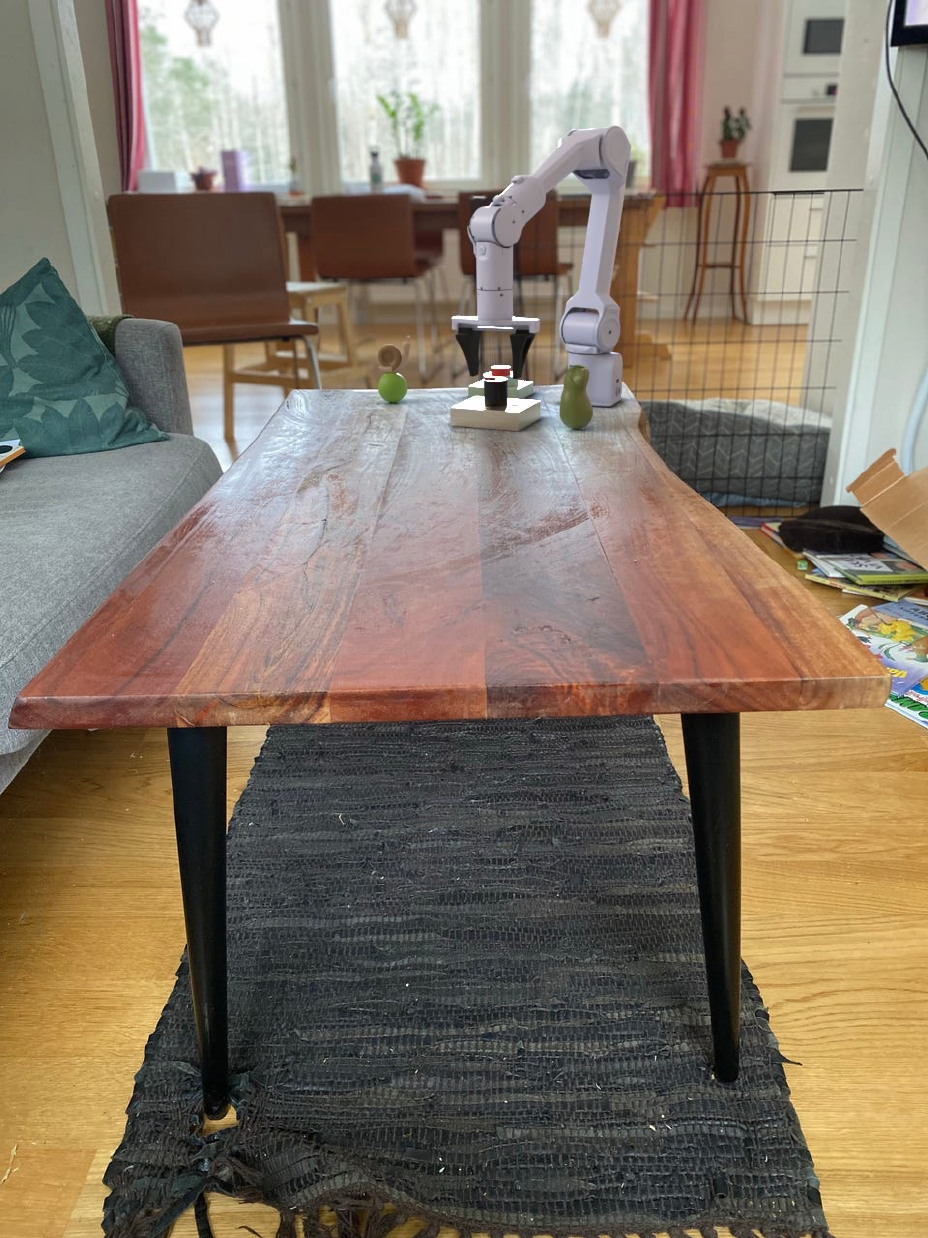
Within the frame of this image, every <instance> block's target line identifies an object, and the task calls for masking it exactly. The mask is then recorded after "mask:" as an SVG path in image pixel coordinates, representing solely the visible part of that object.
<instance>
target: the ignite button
mask: <svg viewBox="0 0 928 1238" xmlns="http://www.w3.org/2000/svg"><path fill="white" fill-rule="evenodd" d="M511 370H512V369H511V366H510V365H504V364H503V365H502V364H501V365H499V364H498V365H492V366H491V367H490V372H491V375H492V376H509V375H511V372H512V371H511Z"/></svg>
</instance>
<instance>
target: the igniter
mask: <svg viewBox="0 0 928 1238" xmlns="http://www.w3.org/2000/svg"><path fill="white" fill-rule="evenodd" d="M485 376H487V377H504V378H507V379H508V398H509V399H525V398H527V397H529V396H531V395H533V394H534V381H526V380H525V381H524V380H520V378H519V379H513V375H512V371H511V375H509V376H492V375H491V371H489V372H485V373H483V374H482V380H480V381H477V382H475V383H473V384H470V385H468V386H467V395H468V396H467V398H468V399H470V398H473V397H475V396H479V397H484V381H483V380H484V377H485Z"/></svg>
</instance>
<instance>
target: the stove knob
mask: <svg viewBox="0 0 928 1238" xmlns="http://www.w3.org/2000/svg"><path fill="white" fill-rule="evenodd" d="M482 380H483V379H482ZM483 381H484V404H485V405H488V406H503V405H507V404H508V379H507V378H504V377H487V376H485V377H484V380H483Z"/></svg>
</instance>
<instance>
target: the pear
mask: <svg viewBox="0 0 928 1238" xmlns="http://www.w3.org/2000/svg"><path fill="white" fill-rule="evenodd" d="M588 380H589V370H588V368H585V367H583V366H581V365H570V366H569V369H568V368H567V371H566V372H565V374H564V376H563V380H562V382H563V383H562V384H563V390H562V391H561V394H560V400H559V417H560V418H559V419H560V421H561V423H562V425H564V426H565V427H566V428H569V429H573V430H579V429H580V430H581V429H582V428H585V427H587V426H588V425H589V424H590V423H591V421H592V419H593V416H594V406H592V405H591V403H590V400H589V398H588V395H587V392H586V386H587V383H588Z"/></svg>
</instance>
